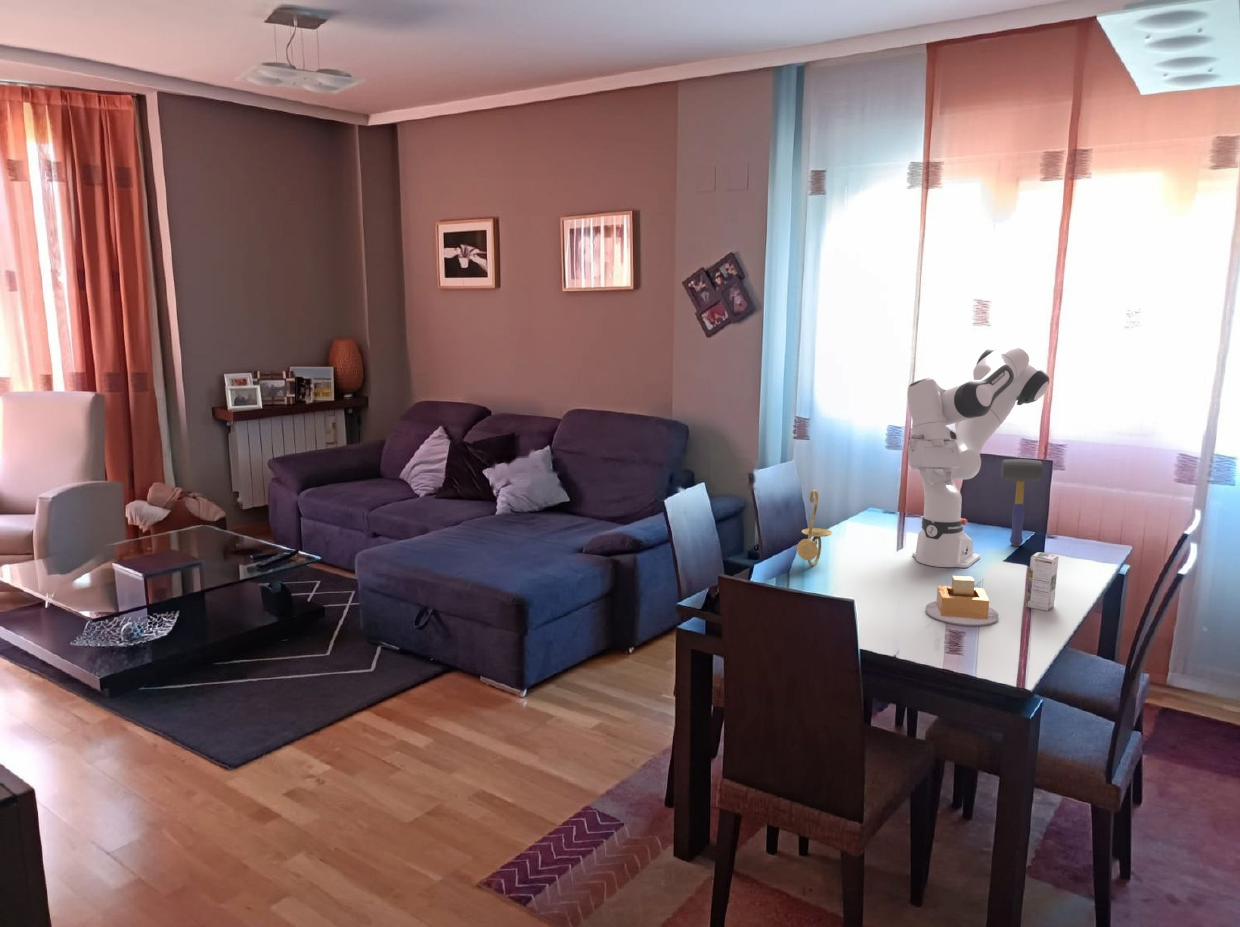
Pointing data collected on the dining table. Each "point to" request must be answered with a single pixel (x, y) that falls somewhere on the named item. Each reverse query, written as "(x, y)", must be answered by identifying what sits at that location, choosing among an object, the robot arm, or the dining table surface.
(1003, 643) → the dining table surface
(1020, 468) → the rubber mallet
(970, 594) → the wedge
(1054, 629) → the dining table surface
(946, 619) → the socket
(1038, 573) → the syrup box
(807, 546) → the wall sconce
